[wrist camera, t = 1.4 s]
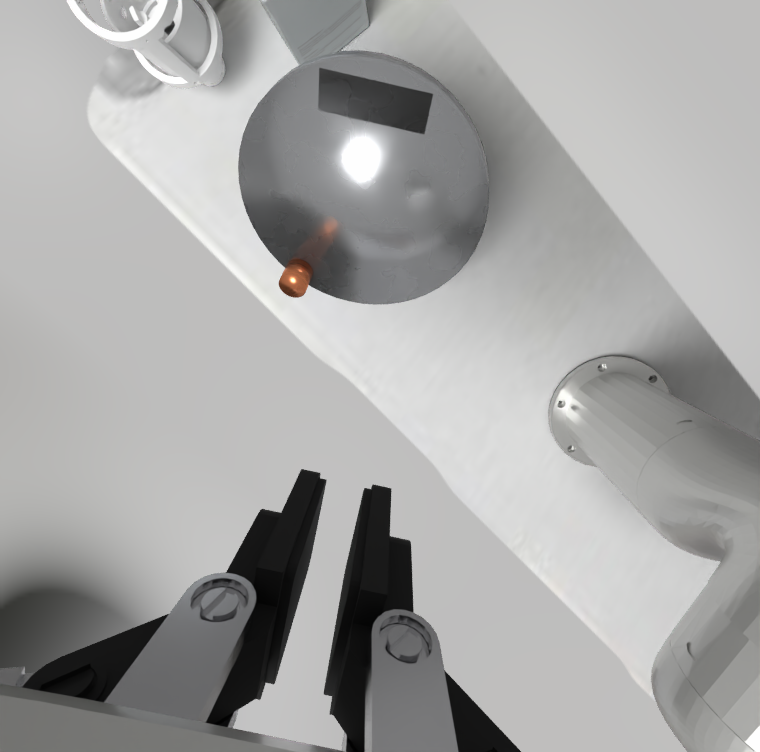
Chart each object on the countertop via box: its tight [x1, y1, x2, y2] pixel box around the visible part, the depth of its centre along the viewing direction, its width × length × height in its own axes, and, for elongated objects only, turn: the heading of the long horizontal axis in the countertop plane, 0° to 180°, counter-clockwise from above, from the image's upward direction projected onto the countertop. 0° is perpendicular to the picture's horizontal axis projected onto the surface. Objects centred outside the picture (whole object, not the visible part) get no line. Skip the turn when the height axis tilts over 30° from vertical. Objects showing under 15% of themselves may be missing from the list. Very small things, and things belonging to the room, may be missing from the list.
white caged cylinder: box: [67, 0, 225, 89], centre depth 33 cm, size 7×7×15 cm
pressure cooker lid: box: [238, 51, 489, 304], centre depth 27 cm, size 16×16×4 cm
